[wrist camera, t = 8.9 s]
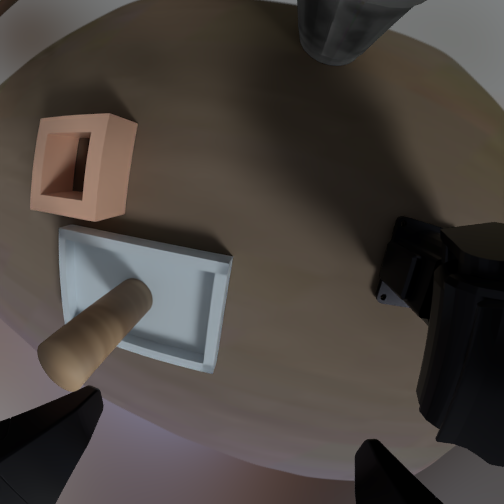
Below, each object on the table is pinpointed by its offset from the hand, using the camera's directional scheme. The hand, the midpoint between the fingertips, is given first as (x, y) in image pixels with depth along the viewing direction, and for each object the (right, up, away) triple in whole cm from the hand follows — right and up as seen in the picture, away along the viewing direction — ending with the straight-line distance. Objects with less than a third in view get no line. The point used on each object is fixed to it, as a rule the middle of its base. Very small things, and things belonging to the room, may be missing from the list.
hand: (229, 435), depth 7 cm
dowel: (-8, +2, +13) cm, 15 cm away
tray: (-8, +2, +13) cm, 16 cm away
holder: (-12, +12, +11) cm, 20 cm away
